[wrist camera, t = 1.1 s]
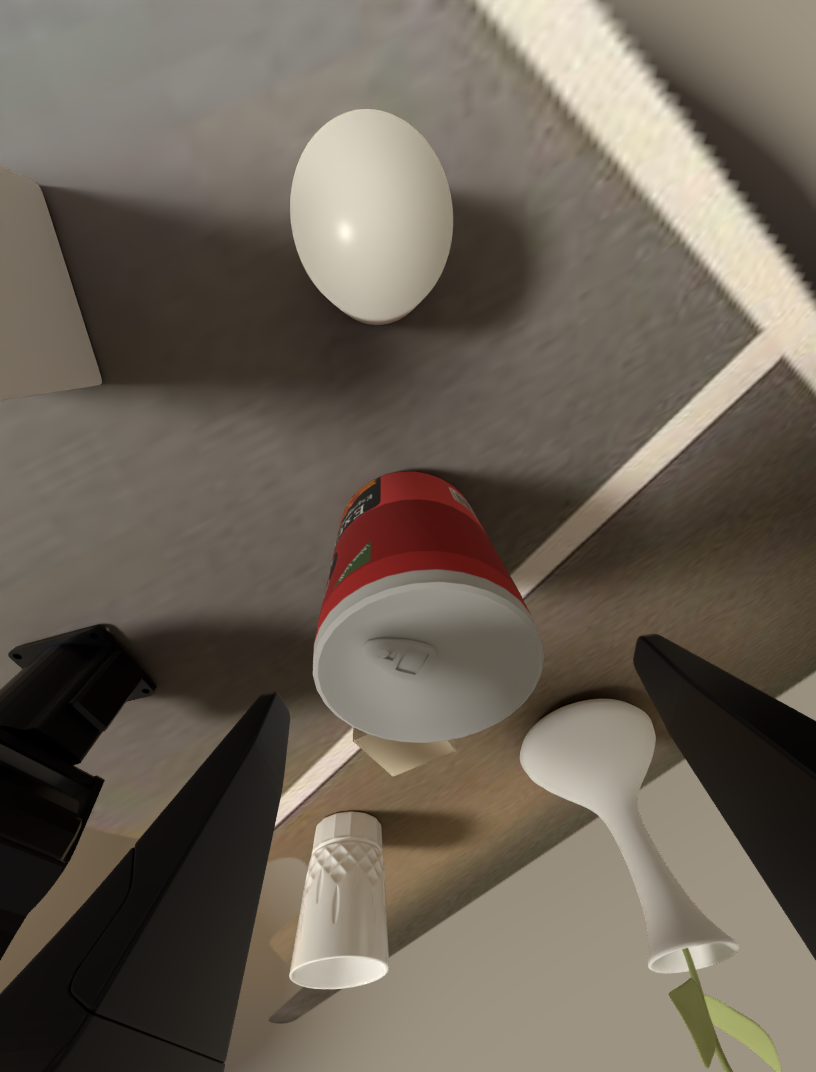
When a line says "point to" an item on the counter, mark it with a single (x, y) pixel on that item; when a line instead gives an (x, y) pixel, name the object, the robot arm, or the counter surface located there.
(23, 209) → the milk carton
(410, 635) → the canned food
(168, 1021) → the robot arm
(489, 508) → the counter surface
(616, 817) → the flower in vase
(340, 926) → the white cup
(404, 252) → the off-white smooth rounded part
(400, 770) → the birch block
